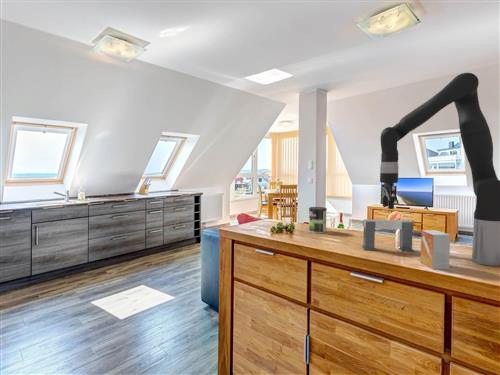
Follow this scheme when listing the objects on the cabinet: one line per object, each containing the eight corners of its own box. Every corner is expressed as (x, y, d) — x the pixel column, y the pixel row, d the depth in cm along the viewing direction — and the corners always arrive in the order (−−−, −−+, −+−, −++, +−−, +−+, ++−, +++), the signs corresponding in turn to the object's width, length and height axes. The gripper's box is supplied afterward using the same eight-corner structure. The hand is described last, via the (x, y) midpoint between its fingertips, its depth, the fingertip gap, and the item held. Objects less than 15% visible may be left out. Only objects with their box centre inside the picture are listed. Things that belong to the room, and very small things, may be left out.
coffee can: (315, 233, 169) (316, 209, 168) (305, 230, 178) (305, 207, 177) (330, 232, 173) (330, 208, 172) (319, 229, 182) (319, 206, 181)
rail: (409, 227, 135) (409, 220, 135) (412, 229, 132) (412, 221, 132) (363, 226, 138) (363, 219, 138) (365, 228, 135) (365, 220, 135)
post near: (408, 248, 137) (409, 220, 136) (413, 252, 131) (414, 223, 130) (397, 248, 138) (398, 220, 137) (401, 251, 132) (402, 222, 131)
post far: (372, 247, 140) (373, 220, 139) (376, 250, 134) (376, 222, 133) (361, 246, 140) (362, 219, 140) (364, 250, 135) (365, 222, 134)
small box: (419, 262, 117) (420, 230, 116) (435, 262, 117) (437, 230, 116) (432, 269, 109) (433, 234, 108) (449, 269, 109) (450, 234, 108)
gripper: (403, 172, 126) (402, 210, 127) (392, 172, 140) (391, 205, 141) (385, 172, 127) (383, 209, 128) (376, 171, 141) (375, 205, 142)
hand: (387, 207), depth 135 cm, fingers open, 8 cm apart
